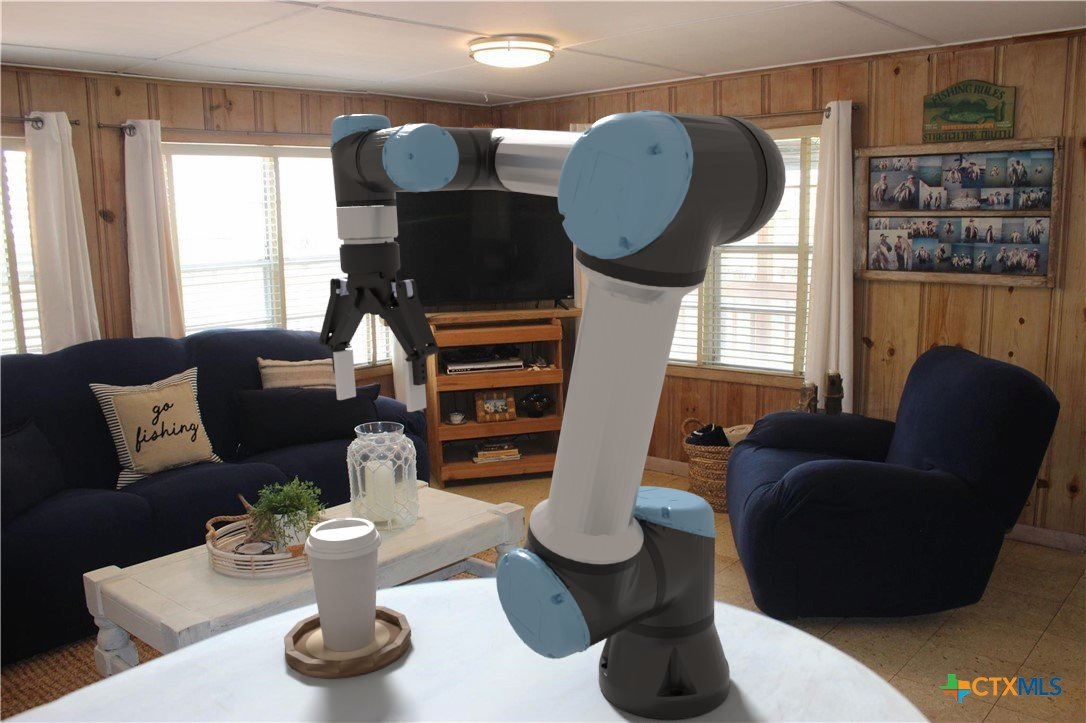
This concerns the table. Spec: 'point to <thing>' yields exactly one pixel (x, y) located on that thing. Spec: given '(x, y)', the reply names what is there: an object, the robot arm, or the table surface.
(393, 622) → the polygonal wooden dish
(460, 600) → the table surface
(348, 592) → the coffee cup
